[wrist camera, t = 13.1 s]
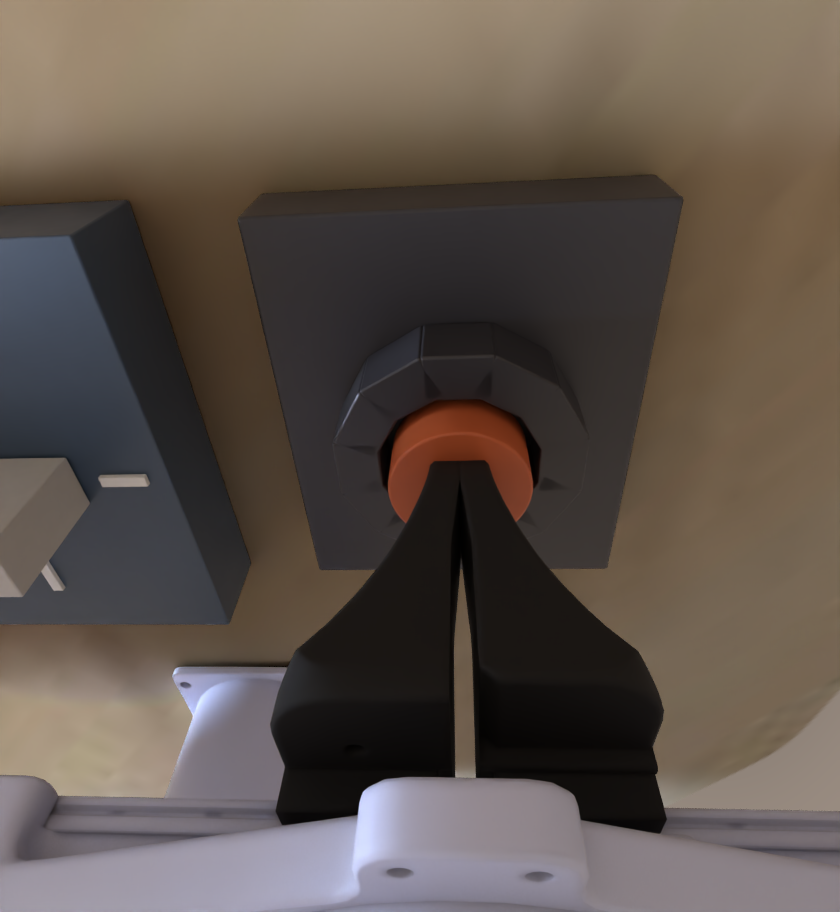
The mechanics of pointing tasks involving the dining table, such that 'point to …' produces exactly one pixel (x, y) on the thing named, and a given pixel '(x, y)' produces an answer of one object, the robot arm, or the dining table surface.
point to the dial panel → (110, 426)
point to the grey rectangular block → (34, 517)
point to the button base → (463, 339)
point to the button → (459, 451)
